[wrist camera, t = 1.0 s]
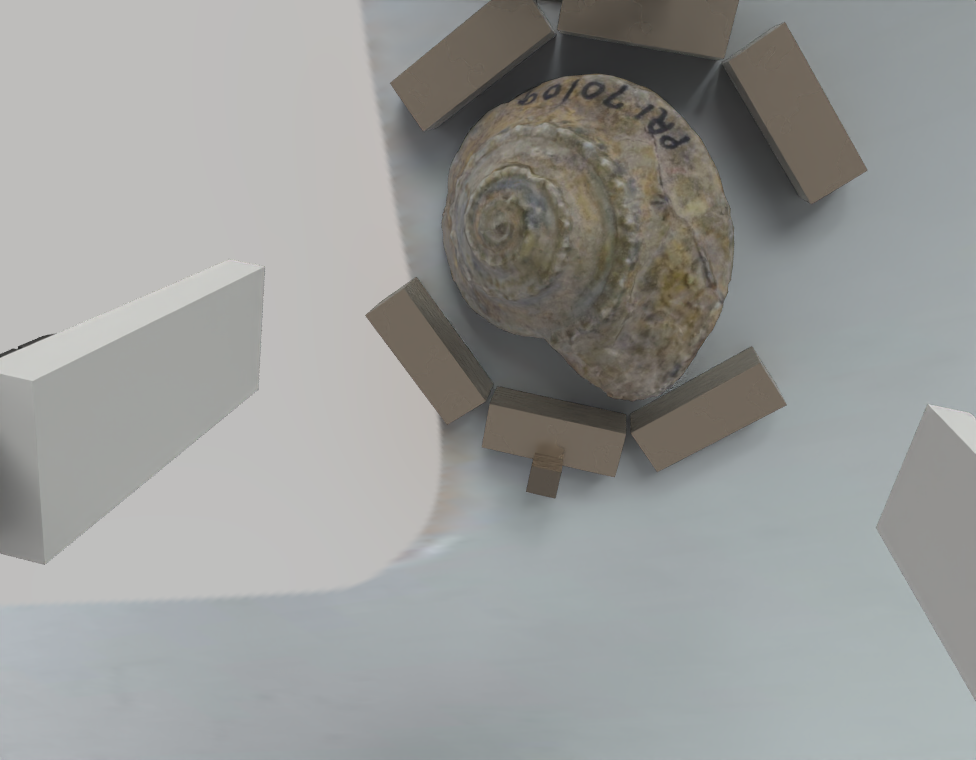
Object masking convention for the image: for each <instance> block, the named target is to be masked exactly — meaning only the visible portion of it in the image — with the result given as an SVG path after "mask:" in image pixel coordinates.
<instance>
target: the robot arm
mask: <svg viewBox="0 0 976 760" xmlns="http://www.w3.org/2000/svg"><path fill="white" fill-rule="evenodd" d="M264 276H265V266H260V265H255V264H250V263H245V262H241V261H236V260H231V259H229V260H226V261H224V262H222V263H219V264H217V265H215V266H212V267H210V268H208V269H206V270H203V271H201V272H198V273H197V274H194V275H192V276H189V277H187V278H185V279H182V280H180V281H178V282H175V283H173V284H171V285H168V286H166V287H164V288H161V289H159V290H157V291H154V292H152V293H150V294H147V295H145V296H143V297H140V298H138V299H136V300H133V301H131V302H129V303H126V304H124V305H122V306H119V307H117V308H115V309H113V310H110V311H108V312H105V313H103V314H101V315H98V316H96V317H94V318H92V319H89V320H87V321H84V322H82V323H80V324H78V325H75V326H73V327H71V328H68V329H66V330H64V331H61V332H59V333H56V334H51V335H46V336H42V337H39V338H37V339H35V340H32V341H30V342H28V343H25V344H23V345H21V346H18V349H11V350H9V351H7V352H4V353H2V354H0V553H1V554H4V555H8V556H12V557H16V558H20V559H24V560H28V561H32V562H36V563H40V564H44V565H45V564H47V563H48V562H49V561H50V560H51V559H53V558H54V557H55V556H56V555H57V554H59V553H60V552H61V551H62V550H64V549H65V548H66V547H67V546H68V545H70V544H71V543H72V542H73V541H74V540H76V539H77V538H78V537H79V536H81V535H82V534H83V533H84V532H85V531H87V530H88V529H89V528H90V527H92V526H93V525H94V524H95V523H96V522H98V521H99V520H100V519H101V518H102V517H104V516H105V515H106V514H107V513H109V512H110V511H111V510H112V509H114V508H115V507H116V506H117V505H118V504H120V503H121V502H122V501H123V500H124V499H126V498H127V497H128V496H129V495H131V494H132V493H133V492H134V491H135V490H137V489H138V488H139V487H140V486H142V485H143V484H144V483H145V482H146V481H148V480H149V479H150V478H151V477H152V476H154V475H155V474H156V473H157V472H159V471H160V470H161V469H162V468H163V467H165V466H166V465H167V464H168V463H169V462H171V461H172V460H173V459H174V458H176V457H177V456H178V455H179V454H181V453H182V452H183V451H184V450H185V449H187V448H188V447H189V446H190V445H192V444H193V443H194V442H195V441H196V440H198V439H199V438H200V437H201V436H202V435H204V434H205V433H206V432H207V431H209V430H210V429H211V428H212V427H213V426H215V425H216V424H217V423H218V422H220V421H221V420H222V419H223V418H224V417H226V416H227V415H228V414H229V413H231V412H232V411H233V410H234V409H235V408H237V407H238V406H239V405H240V404H241V403H243V402H244V401H245V400H246V399H247V398H249V397H250V396H251V395H252V394H253V393H255V392H256V391H257V390H258V386H259V368H260V348H261V331H262V313H263V294H264ZM876 529H877V530H878V532H879V534H880V536H881V537H882V539H883V541H884V543H885V544H886V546H887V548H888V550H889V551H890V553H891V555H892V557H893V558H894V560H895V562H896V563H897V565H898V567H899V569H900V570H901V572H902V574H903V576H904V577H905V579H906V581H907V583H908V584H909V586H910V588H911V590H912V591H913V593H914V595H915V597H916V598H917V600H918V602H919V603H920V605H921V607H922V609H923V610H924V612H925V614H926V616H927V617H928V619H929V621H930V623H931V624H932V626H933V628H934V630H935V631H936V633H937V635H938V637H939V638H940V640H941V642H942V643H943V645H944V647H945V649H946V650H947V652H948V654H949V656H950V657H951V659H952V661H953V663H954V664H955V666H956V668H957V670H958V671H959V673H960V675H961V676H962V678H963V680H964V682H965V683H966V685H967V687H968V689H969V690H970V692H971V694H972V696H973V697H974V699H975V701H976V418H975V417H974V416H973V415H972V414H970V413H968V412H964V411H959V410H954V409H949V408H944V407H940V406H935V405H930V404H927V407H926V409H925V411H924V414H923V416H922V419H921V421H920V423H919V426H918V428H917V430H916V433H915V435H914V438H913V440H912V442H911V445H910V447H909V450H908V452H907V454H906V457H905V459H904V462H903V464H902V466H901V469H900V471H899V474H898V476H897V478H896V481H895V483H894V486H893V488H892V490H891V493H890V495H889V498H888V500H887V502H886V505H885V507H884V510H883V512H882V514H881V517H880V519H879V521H878V524H877V526H876Z"/></svg>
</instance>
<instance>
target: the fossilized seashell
mask: <svg viewBox="0 0 976 760" xmlns="http://www.w3.org/2000/svg"><path fill="white" fill-rule="evenodd" d="M730 209H731V208H730V206H729V204H728V202H727V200H726V198H725V195H724V191H723V187H722V183H721V179H720V176H719V173H718V170H717V168H716V166H715V165H714V163H713V161H712V159H711V157H710V155H709V153H708V151H707V149H706V147H705V145H704V144H703V142H702V140H701V138H700V137H699V136H698V135H697V133H696V132H695V131H694V130H693V129H692V128H690V126H689V125H688V123H687V122H686V120H685V119H684V118H683V117H682V116H681V115H680V114H679V113H678V112H677V111H676V110H675V109H674V108H673V107H672V106H670V105H669V104H668V103H667V102H666V101H665V100H664V99H662V98H661V97H660V96H659V95H658V94H657V93H655V92H653V91H652V90H650V89H648V88H647V87H644V86H641V85H638V84H635V83H633V82H630V81H628V80H625V79H622V78H619V77H615V76H611V75H604V74H586V75H576V76H565V77H561V78H558V79H555V80H550V81H547V82H544V83H542V84H541V85H539V86H537V87H535V88H533V89H531V90H529V91H527V92H525V93H523V94H521V95H519V96H517V97H516V98H515V99H513V100H512V101H510V102H509V103H504V104H501V105H499V106H497V107H495V108H493V109H491V110H490V111H488V112H487V113H486V114H485V115H484V116H483V117H482V118H481V119H480V120H479V121H478V122H477V123H476V124H475V125H474V127H472V128H471V130H470V131H469V133H468V134H467V136H466V137H465V139H464V141H463V143H462V145H461V147H460V150H459V151H458V152H457V153H456V155H455V157H454V159H453V161H452V164H451V166H450V170H449V175H448V194H447V200H446V207H445V209H444V212H443V219H442V230H443V244H444V248H445V252H446V255H447V259H448V263H449V266H450V269H451V275H452V278H453V281H454V282H456V283H457V286H458V288H459V290H460V292H461V294H462V297H463V298H464V299H465V301H466V302H467V303H468V305H469V306H470V307H471V308H472V309H473V310H474V311H475V312H476V313H477V314H479V315H480V316H482V317H483V318H485V319H486V320H487V321H488V322H489V323H491V324H493V325H495V326H496V327H497V328H500V329H502V330H504V331H507V332H510V333H512V334H514V335H520V336H523V337H525V336H526V337H535V338H544V339H545V340H546V341H547V342H548V343H549V345H550V346H551V347H552V348H553V349H555V350H556V351H557V352H558V353H559V354H560V355H561V356H562V357H563V358H564V359H565V360H566V362H567V363H568V364H569V365H570V366H571V367H572V368H573V369H574V370H575V371H576V372H577V373H578V374H579V375H580V376H581V377H583V378H584V379H586V380H588V381H589V382H590V383H591V384H593V385H595V386H596V387H599V388H601V389H602V390H603V391H604V392H606V393H607V396H609V397H612V398H614V399H622V400H629V401H632V402H633V401H635V400H644V399H646V398H649V397H655V396H659V395H661V394H662V393H663V392H664V391H665V390H666V389H669V388H671V387H672V386H673V384H674V383H675V382H676V381H677V380H678V379H679V378H680V377H681V376H682V375H683V374H684V372H685V370H686V369H687V367H688V366H689V365H690V363H691V362H692V360H693V359H694V357H695V356H696V354H697V351H698V350H699V348H700V347H701V346H702V344H703V343H704V341H705V340H706V338H707V336H708V335H709V334H710V333H711V331H712V330H713V328H714V326H715V324H716V322H717V320H718V318H719V316H720V313H721V311H722V308H723V302H724V299H725V297H726V295H727V293H728V284H729V282H730V280H731V273H732V268H733V254H734V227H733V223H732V220H731V216H730Z"/></svg>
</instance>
